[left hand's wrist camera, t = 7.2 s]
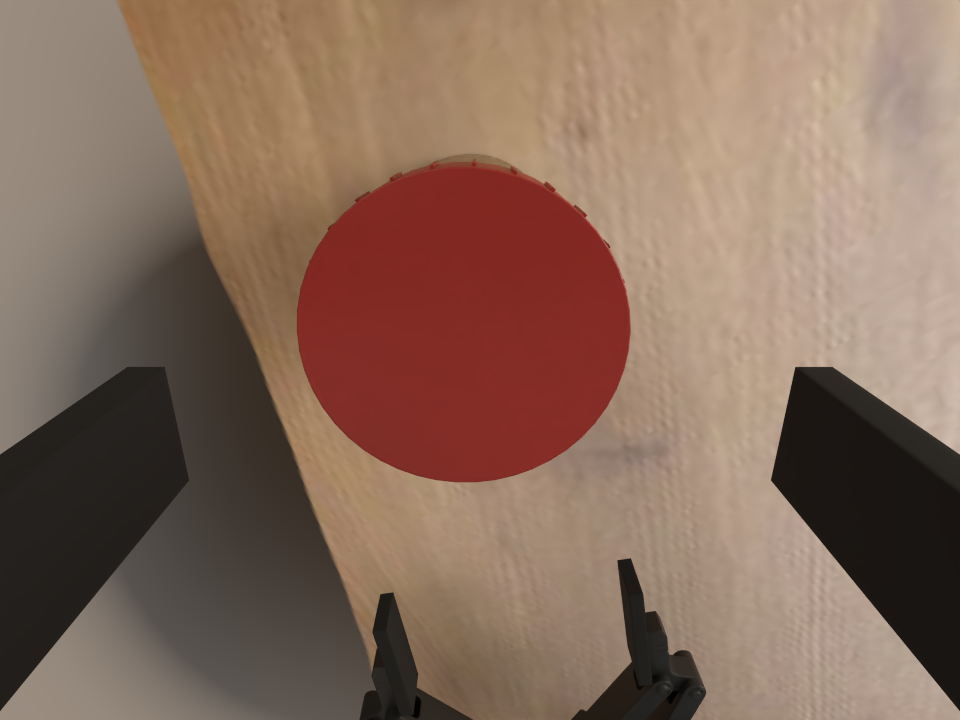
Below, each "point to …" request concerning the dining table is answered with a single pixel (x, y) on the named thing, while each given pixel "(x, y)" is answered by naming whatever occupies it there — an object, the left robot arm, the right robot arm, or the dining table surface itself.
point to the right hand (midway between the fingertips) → (504, 593)
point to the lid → (463, 322)
